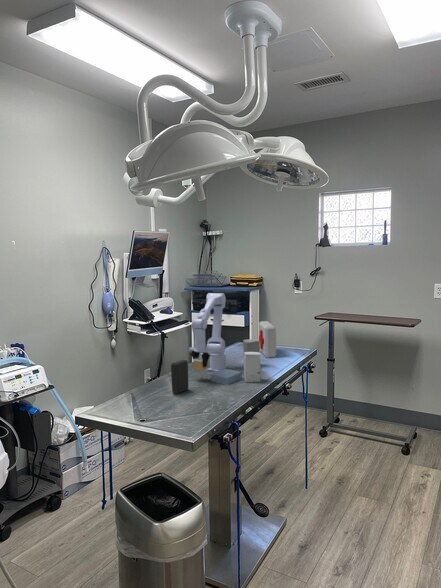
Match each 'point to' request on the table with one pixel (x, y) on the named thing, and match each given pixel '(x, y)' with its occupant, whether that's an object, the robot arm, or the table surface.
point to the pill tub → (199, 364)
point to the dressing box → (226, 376)
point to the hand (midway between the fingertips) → (200, 365)
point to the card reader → (179, 376)
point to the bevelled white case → (267, 339)
